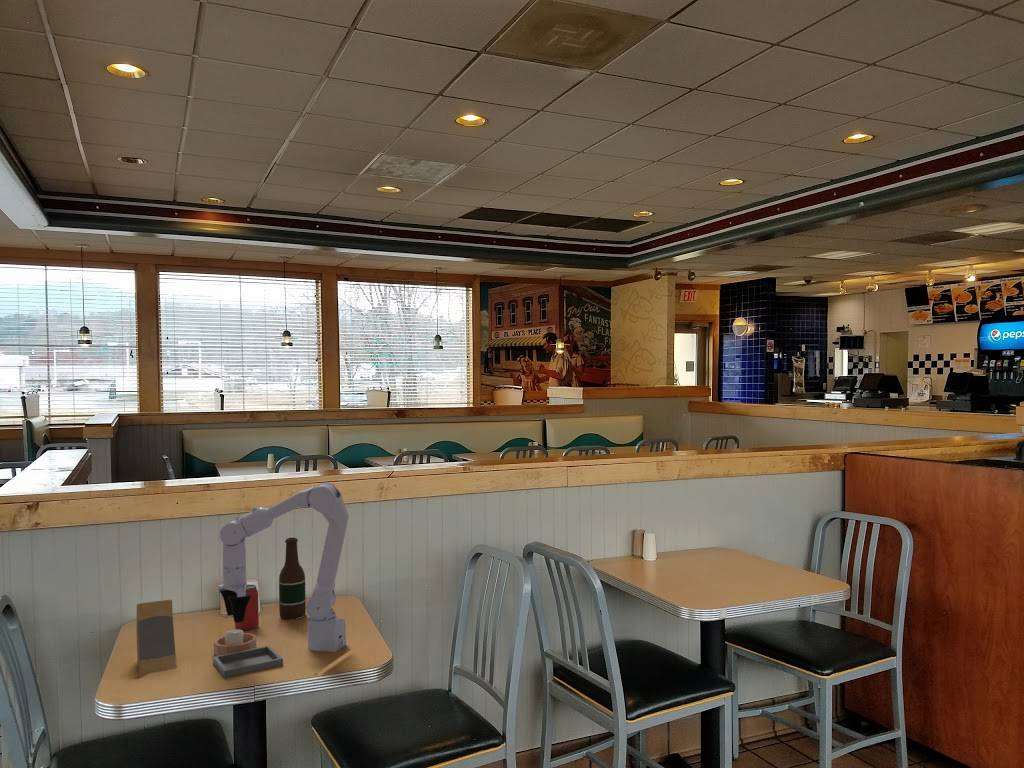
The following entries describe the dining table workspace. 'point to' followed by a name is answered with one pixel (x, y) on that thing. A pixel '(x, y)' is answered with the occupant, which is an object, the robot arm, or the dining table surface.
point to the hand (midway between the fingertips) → (235, 618)
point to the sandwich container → (155, 637)
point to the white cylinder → (234, 637)
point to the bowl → (247, 644)
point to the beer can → (250, 611)
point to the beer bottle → (292, 584)
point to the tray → (247, 661)
